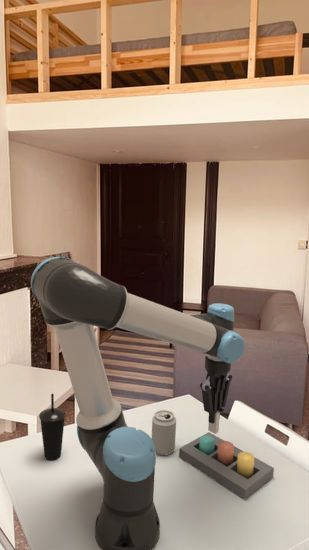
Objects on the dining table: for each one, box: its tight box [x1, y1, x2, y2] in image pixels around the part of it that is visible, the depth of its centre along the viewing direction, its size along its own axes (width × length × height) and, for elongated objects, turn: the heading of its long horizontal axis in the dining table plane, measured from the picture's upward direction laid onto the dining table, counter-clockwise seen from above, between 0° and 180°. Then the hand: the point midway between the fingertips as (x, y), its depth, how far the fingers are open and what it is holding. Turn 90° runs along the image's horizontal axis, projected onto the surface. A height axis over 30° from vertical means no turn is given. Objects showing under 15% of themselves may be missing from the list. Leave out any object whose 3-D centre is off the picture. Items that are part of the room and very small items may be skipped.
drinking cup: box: [38, 393, 67, 462], centre depth 120 cm, size 8×8×20 cm
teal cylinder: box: [199, 434, 215, 455], centre depth 124 cm, size 5×5×5 cm
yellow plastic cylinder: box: [237, 451, 255, 478], centre depth 114 cm, size 5×5×5 cm
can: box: [151, 409, 177, 456], centre depth 126 cm, size 8×8×12 cm
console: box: [178, 431, 275, 501], centre depth 119 cm, size 14×24×3 cm, turn 43°
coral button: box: [217, 440, 235, 466], centre depth 119 cm, size 5×5×5 cm
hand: (213, 431), depth 121 cm, fingers closed
